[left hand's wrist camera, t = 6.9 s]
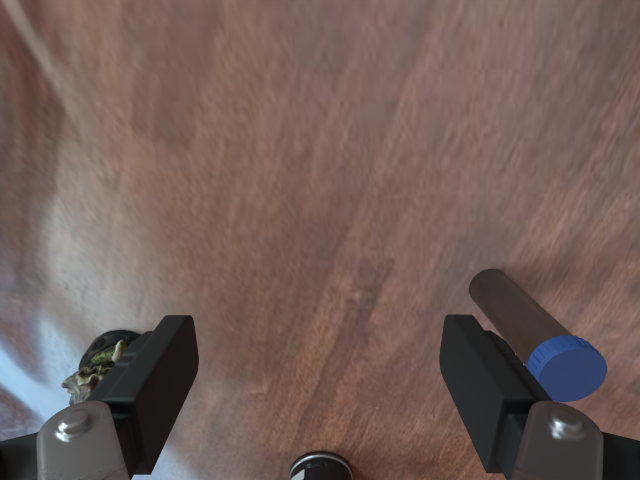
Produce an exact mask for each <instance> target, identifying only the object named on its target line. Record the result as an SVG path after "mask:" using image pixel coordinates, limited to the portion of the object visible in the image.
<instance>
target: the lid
mask: <svg viewBox="0 0 640 480" xmlns="http://www.w3.org/2000/svg"><path fill="white" fill-rule="evenodd" d="M527 369H528V370H529V371H530V372H531V374H532V375H533V376H534V377H535V379H536V380H537V381H538V383H539V384H540V385H541V386H542V388H543V389H544V390H545V391H546V393H547V394H548V395H549V396H550V398H551V399H552V400H554V401H558V402H571V401H576V400H579V399H582V398H584V397H586V396H588V395H590V394H591V393H593V392H594V391H595V390H596V389H597V388H598V387H599V386H600V385H601V384H602V382H603V380H604V379H605V376H606V372H607V366H606V362H605V360H604V358H603V357H602V356H601V355H600V353H599V352H598V351H597V350H596V349H595V348H594V347H593V346H592V345H591V344H590V343H588V342H587V341H585V340H584V339H583V338H579V337H577V336H570V335H565V336H558V337H554V338H551V339H549V340H547V341H545V342H543V343H542V344H540V345H539V346H538V347H537V348H536V349H535V350H534V351H533V352H532V353H531V355H530V357H529V359H528V363H527Z"/></svg>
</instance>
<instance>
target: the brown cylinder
mask: <svg viewBox="0 0 640 480" xmlns="http://www.w3.org/2000/svg"><path fill="white" fill-rule="evenodd" d="M469 293H470V296H471V298H472V299H473V300H474V302H475V303H476V304H477V305H478V307H479V308H480V309H481V310H482V312H483V313H484V314H485V315H486V317H487V318H488V319H489V321H490V322H491V323H492V324H493V326H494V327H495V328H496V329H497V331H498V332H499V333H500V334H501V336H502V337H503V338H504V339H505V341H506V342H507V343H508V344H509V346H510V347H511V348H512V350H513V351H514V352H515V353H516V355H517V356H518V357H519V358H520V360H521V361H522V362H523V363H524V365H525V366H526V367H527V363H528V359H529V357H530V355H531V353H532V352H533V351H534V350H535V349H536V348H537V347H538V346H539V345H540V344H542V343H543V342H545V341H547V340H549V339H551V338H554V337H558V336H565V335H570V336H573V335H572V334H571V333H570V332H569V331H568V330H567V329H566V328H564V327H563V326H562V325H561V324H560V323H559V322H558V321H557V320H556V319H554V318H553V317H552V316H551V315H550V314H549V313H548V312H547V311H546V310H544V309H543V308H542V307H541V306H540V305H539V304H538V303H537V302H536V301H535V300H533V299H532V298H531V297H530V296H529V295H528V294H527V293H526V292H525V291H523V290H522V289H521V288H520V287H519V286H518V285H517V284H516V283H515V282H513V281H512V280H511V279H510V278H509V277H508V276H507V275H506V274H505V273H503V272H502V271H500V270H496V269H488V270H484V271H482V272H480V273H478V274H477V275H476V276H475V277H474V278H473V279H472V281H471V283H470V286H469Z"/></svg>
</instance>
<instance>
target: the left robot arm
mask: <svg viewBox="0 0 640 480" xmlns="http://www.w3.org/2000/svg"><path fill="white" fill-rule="evenodd" d="M439 361H440V369H441V373H442V376H443V379H444V381H445V383H446V385H447V387H448V390H449V392H450V394H451V396H452V398H453V401H454V403H455V405H456V407H457V409H458V412H459V414H460V416H461V418H462V420H463V423H464V425H465V427H466V429H467V431H468V434H469V436H470V438H471V440H472V442H473V445H474V447H475V449H476V451H477V453H478V456H479V458H480V460H481V462H482V464H483V467H484V469H485V471H486V473H503V474H504V476H505V478H506V480H640V441H638V440H634V439H630V438H626V437H621V436H617V435H613V434H609V433H605V432H601V431H600V429H599V427H598V426H597V425H596V424H595V423H594V422H593V421H592V420H591V419H590V418H589V417H588V416H586V415H585V414H584V413H582V412H580V411H579V410H577V409H575V408H573V407H571V406H569V405H566V404H563V403H560V402H556V401H553V400H552V399H551V398H550V396H549V395H548V394H547V393H546V391H545V390H544V389H543V388H542V386H541V385H540V384H539V383H538V381H537V380H536V379H535V377H534V376H533V375H532V374H531V372H530V371H529V370H528V369H527V367H526V366H525V365H523V362H522V361H521V360H520V359H519V357H518V356H517V355H515V352H514V351H513V350H512V348H511V347H510V346H509V345H508V343H507V342H506V341H505V340H503V339H502V338H501V337H499V336H498V335H496V334H495V333H493V332H492V331H484V329H483V328H482V327H481V325H480V324H479V323H478V321H477V320H476V319H475V317H474V316H473V315H447V316H446V317H445V320H444V327H443V334H442V341H441V349H440V357H439ZM198 364H199V356H198V348H197V341H196V334H195V327H194V321H193V318H192V316H191V315H166V316H165V317H164V318H163V319H162V320H161V322H160V323H159V324H158V326H157V327H156V329H155V330H154V331H147V332H146V333H144V334H143V335H141V336H140V337H138V338H137V339H135V340H134V341H132V343H131V344H130V345H129V346H128V348H127V349H126V350H125V351H124V353H123V355H122V356H120V358H119V359H118V360H117V361H116V363H115V365H114V366H112V368H111V369H110V370H109V371H108V373H107V374H106V375H105V376H104V378H103V379H102V380H101V381H100V383H99V384H98V385H97V386H96V388H95V389H94V390H93V391H92V393H91V394H90V395H89V396H88V398H87V399H86V400H85V401H84V402H80V403H77V404H74V405H71V406H69V407H67V408H65V409H63V410H61V411H60V412H58V413H56V414H55V415H54V416H52V417H51V418H50V419H49V420H48V421H47V422H46V423H45V424H44V425H43V426H42V427H41V429H40V431H39V432H37V433H33V434H29V435H25V436H21V437H17V438H13V439H9V440H5V441H1V442H0V480H131V479H132V477H133V475H151V473H152V471H153V469H154V467H155V464H156V462H157V460H158V458H159V456H160V453H161V451H162V449H163V447H164V445H165V443H166V440H167V438H168V436H169V434H170V432H171V430H172V427H173V425H174V423H175V421H176V419H177V417H178V414H179V412H180V410H181V408H182V406H183V404H184V401H185V399H186V397H187V395H188V393H189V390H190V388H191V386H192V384H193V382H194V380H195V377H196V375H197V371H198ZM289 480H353V478H352V470H351V467H350V465H349V463H348V462H347V461H346V460H345V459H343V458H342V457H340V456H339V455H336V454H333V453H330V452H312V453H308V454H306V455H303V456H301V457H300V458H298V459H297V460H296V461H295V462H294V463H293V465H292V466H291V469H290V475H289Z"/></svg>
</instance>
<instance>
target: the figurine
mask: <svg viewBox="0 0 640 480" xmlns="http://www.w3.org/2000/svg"><path fill="white" fill-rule="evenodd" d="M140 336H141V335H140V334H137V333H134V332H131V331H125V330H117V331H110V332H106V333H104V334H102V335H101V336H99V337H97V338H96V339H95V340H94V341H93V343H92V344H91V346H90V347H89V348H88V350H87V351H86V353H85V354H84V356H83V357H82V359H81V361H80V364H79V371H77V372H76V373H74V374H73V376H70V377H68V378H67V379H66V380H64V381H63V383H62V384H61V387H63V388H68V391H67V392H68V393H70V394H71V398H70V401H69V405H70V406H71V405H74V404H77V403H80V402H84V401H85V400H86V399H87V398H88V396H89V395H90V394H91V393H92V391H93V390H94V389H95V388H96V386H97V385H98V384H99V383H100V381H101V380H102V379H103V378H104V376H105V375H106V374H107V373H108V371H109V370H110V369H111V368H112V366H114V365H115V363H116V361H117V360H118V359H119V358H120V356H122V355H123V353H124V351H125V350H126V349H127V348H128V346H129V345H130V344H131V343H132V341H134V340H135V339H137V338H138V337H140Z"/></svg>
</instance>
